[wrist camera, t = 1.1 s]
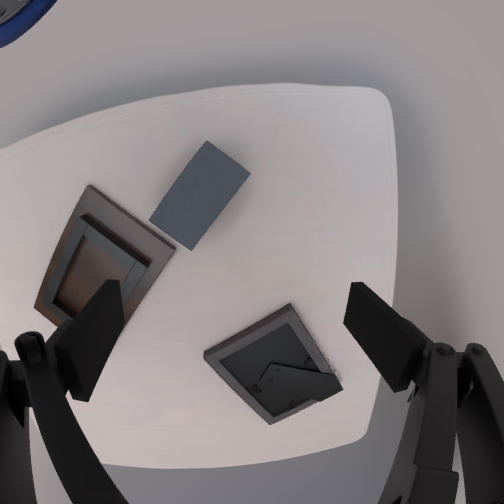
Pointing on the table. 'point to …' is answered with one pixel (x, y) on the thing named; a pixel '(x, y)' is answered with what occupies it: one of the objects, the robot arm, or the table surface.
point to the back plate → (100, 259)
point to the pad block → (199, 195)
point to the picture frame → (275, 366)
